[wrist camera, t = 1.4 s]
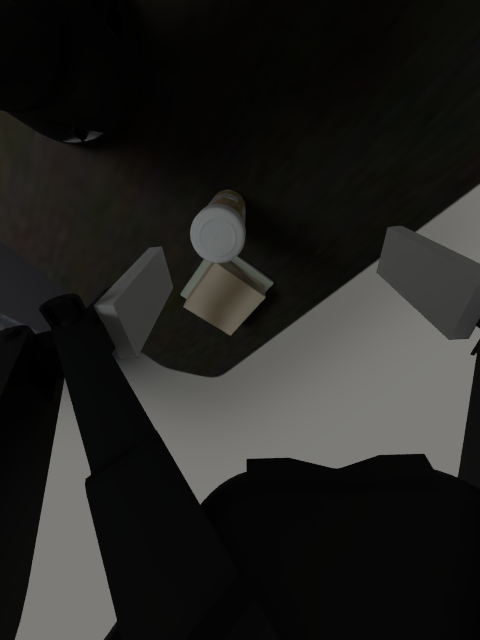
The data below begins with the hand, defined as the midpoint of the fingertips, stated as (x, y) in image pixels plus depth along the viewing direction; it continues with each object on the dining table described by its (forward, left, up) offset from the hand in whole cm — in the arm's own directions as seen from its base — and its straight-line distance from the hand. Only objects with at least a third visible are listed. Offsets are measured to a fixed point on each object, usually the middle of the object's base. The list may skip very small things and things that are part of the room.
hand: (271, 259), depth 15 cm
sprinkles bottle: (-3, -3, -19) cm, 20 cm away
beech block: (+3, -12, -18) cm, 22 cm away
